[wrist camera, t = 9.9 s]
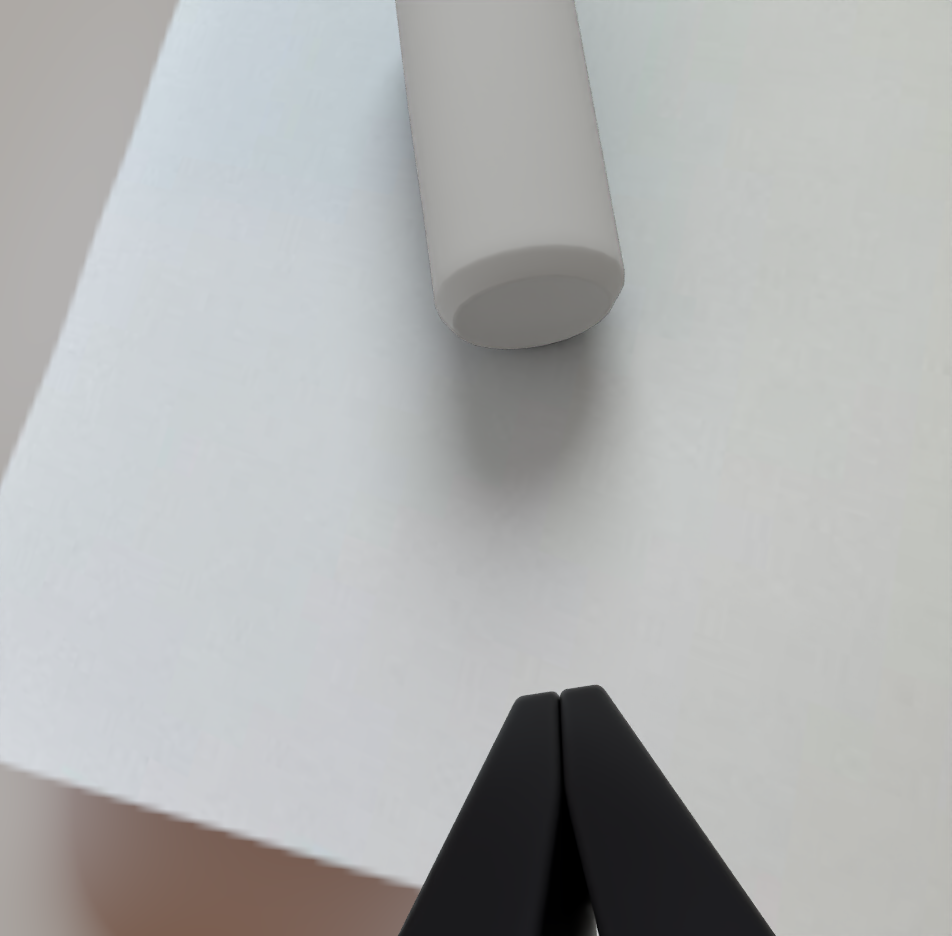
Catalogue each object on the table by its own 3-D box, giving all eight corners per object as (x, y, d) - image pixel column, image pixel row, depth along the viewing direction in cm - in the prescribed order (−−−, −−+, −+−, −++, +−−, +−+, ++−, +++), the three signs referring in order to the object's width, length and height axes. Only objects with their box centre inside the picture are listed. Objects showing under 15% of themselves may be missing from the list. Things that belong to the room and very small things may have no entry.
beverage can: (494, 253, 19) (433, -179, 22) (402, 346, 23) (361, -31, 26) (670, 283, 21) (591, -112, 25) (558, 362, 25) (503, 14, 29)
